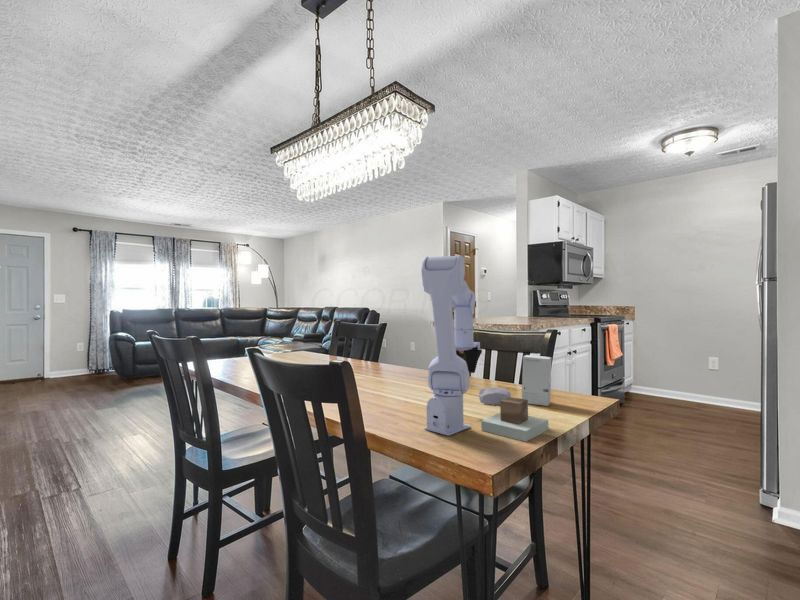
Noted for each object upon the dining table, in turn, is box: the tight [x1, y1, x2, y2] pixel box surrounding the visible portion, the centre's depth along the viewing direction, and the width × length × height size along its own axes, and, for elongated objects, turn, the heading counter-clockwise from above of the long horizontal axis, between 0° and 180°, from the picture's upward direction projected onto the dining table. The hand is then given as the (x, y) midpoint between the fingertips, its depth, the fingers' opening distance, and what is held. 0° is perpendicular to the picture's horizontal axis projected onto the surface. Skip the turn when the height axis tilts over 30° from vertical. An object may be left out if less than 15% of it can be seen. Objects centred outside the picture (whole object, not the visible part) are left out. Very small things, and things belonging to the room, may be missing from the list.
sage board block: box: [480, 412, 549, 442], centre depth 100 cm, size 12×12×3 cm
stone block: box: [478, 386, 512, 405], centre depth 130 cm, size 12×5×10 cm
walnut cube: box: [499, 396, 529, 424], centre depth 100 cm, size 5×5×5 cm
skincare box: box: [521, 354, 552, 407], centre depth 127 cm, size 8×6×15 cm
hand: (464, 374), depth 121 cm, fingers open, 7 cm apart
